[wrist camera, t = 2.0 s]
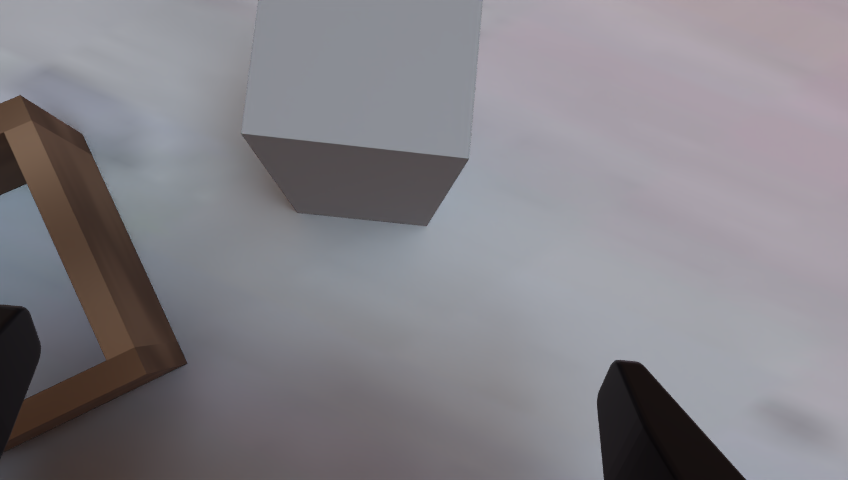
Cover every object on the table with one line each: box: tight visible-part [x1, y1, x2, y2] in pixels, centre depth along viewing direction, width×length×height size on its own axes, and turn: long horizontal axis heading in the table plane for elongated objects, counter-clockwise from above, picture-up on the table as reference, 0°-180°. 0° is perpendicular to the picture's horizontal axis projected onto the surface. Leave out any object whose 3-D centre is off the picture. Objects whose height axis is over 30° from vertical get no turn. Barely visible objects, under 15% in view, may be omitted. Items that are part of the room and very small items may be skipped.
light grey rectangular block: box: [241, 0, 483, 226], centre depth 18 cm, size 4×4×10 cm
